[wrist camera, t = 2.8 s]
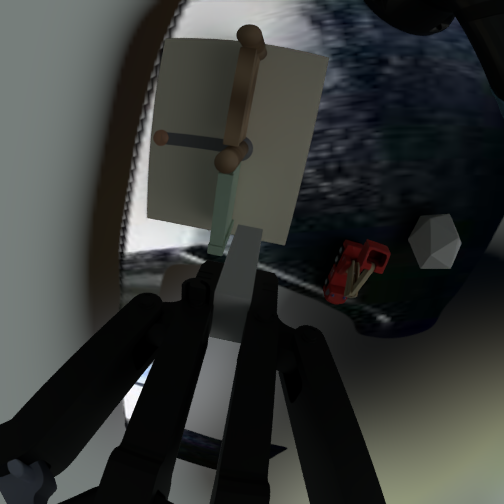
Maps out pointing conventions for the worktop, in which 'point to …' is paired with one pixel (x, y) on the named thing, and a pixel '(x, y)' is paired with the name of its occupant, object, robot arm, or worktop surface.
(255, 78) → the base
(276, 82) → the card
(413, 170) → the worktop surface
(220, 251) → the green rectangular block
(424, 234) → the die
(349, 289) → the toy fire truck
